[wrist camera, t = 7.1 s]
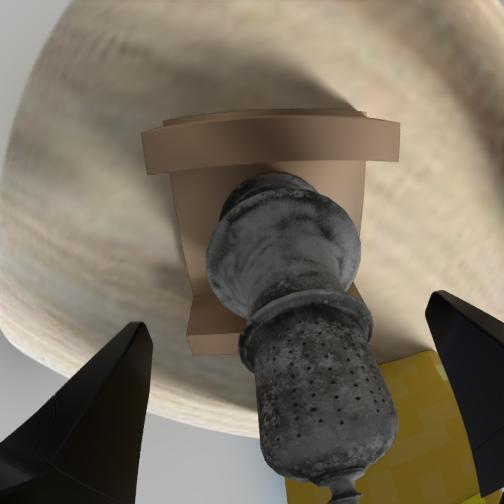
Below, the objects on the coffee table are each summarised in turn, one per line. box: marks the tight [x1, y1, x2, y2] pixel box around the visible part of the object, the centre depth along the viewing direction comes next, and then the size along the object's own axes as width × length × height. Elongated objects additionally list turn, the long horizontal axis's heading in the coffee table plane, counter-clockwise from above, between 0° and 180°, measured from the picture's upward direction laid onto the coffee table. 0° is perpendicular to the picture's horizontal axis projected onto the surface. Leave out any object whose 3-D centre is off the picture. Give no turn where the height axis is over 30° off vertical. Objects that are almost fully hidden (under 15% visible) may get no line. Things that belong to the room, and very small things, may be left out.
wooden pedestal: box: [141, 109, 400, 356], centre depth 12 cm, size 9×11×4 cm
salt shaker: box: [206, 172, 399, 504], centre depth 8 cm, size 6×6×12 cm
